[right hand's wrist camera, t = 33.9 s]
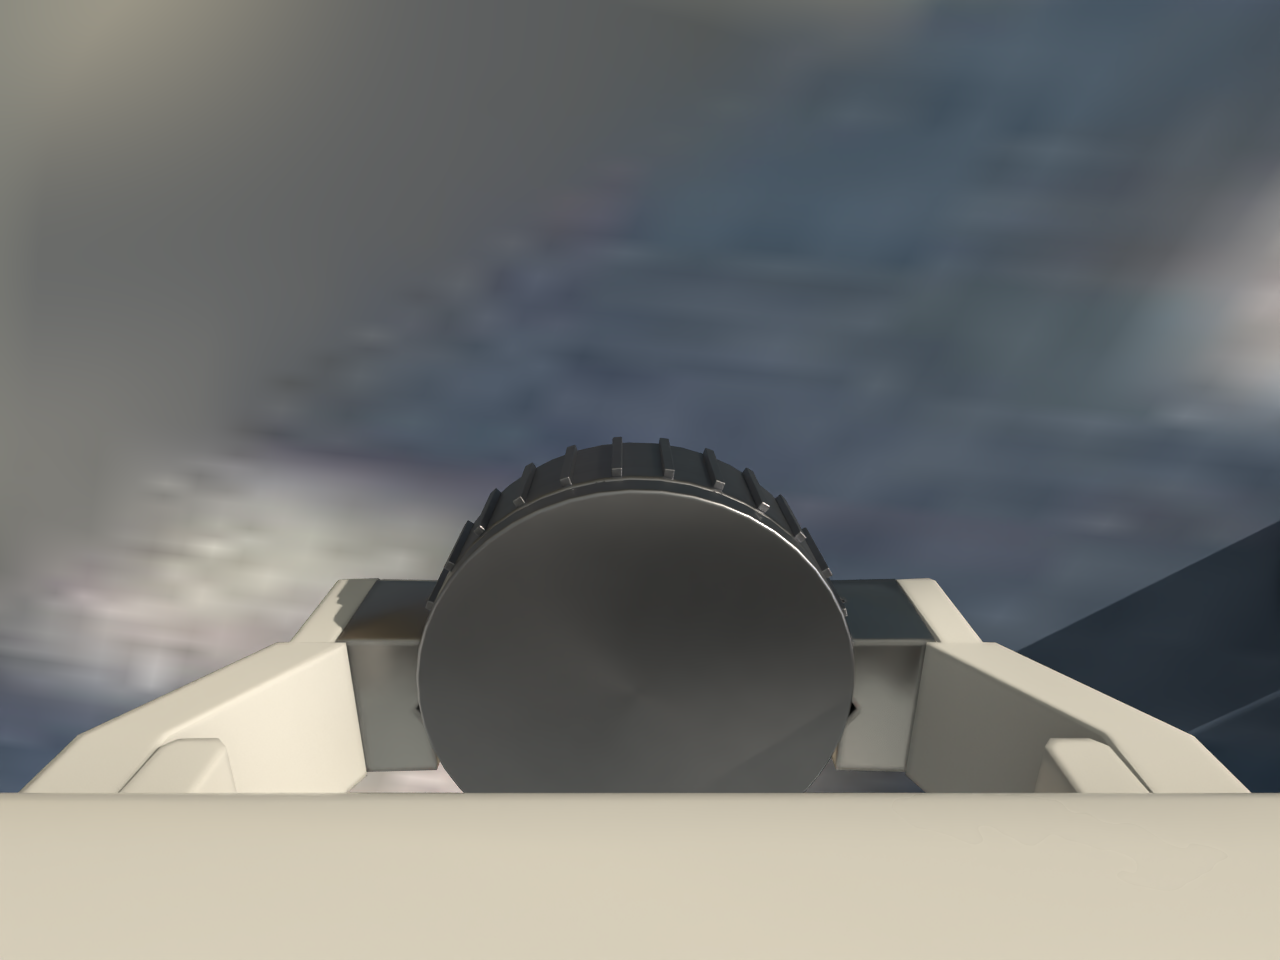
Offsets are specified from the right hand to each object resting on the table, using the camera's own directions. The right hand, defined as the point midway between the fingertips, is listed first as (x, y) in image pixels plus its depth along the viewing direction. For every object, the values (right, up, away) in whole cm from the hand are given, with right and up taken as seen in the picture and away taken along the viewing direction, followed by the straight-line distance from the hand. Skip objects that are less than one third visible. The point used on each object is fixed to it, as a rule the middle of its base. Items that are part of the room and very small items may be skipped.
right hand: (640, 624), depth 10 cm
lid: (0, 0, -2) cm, 2 cm away
